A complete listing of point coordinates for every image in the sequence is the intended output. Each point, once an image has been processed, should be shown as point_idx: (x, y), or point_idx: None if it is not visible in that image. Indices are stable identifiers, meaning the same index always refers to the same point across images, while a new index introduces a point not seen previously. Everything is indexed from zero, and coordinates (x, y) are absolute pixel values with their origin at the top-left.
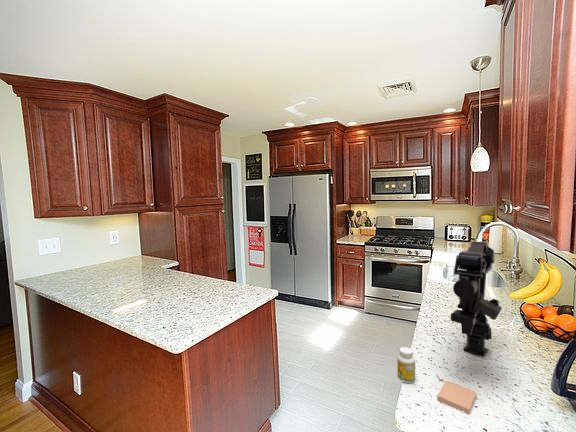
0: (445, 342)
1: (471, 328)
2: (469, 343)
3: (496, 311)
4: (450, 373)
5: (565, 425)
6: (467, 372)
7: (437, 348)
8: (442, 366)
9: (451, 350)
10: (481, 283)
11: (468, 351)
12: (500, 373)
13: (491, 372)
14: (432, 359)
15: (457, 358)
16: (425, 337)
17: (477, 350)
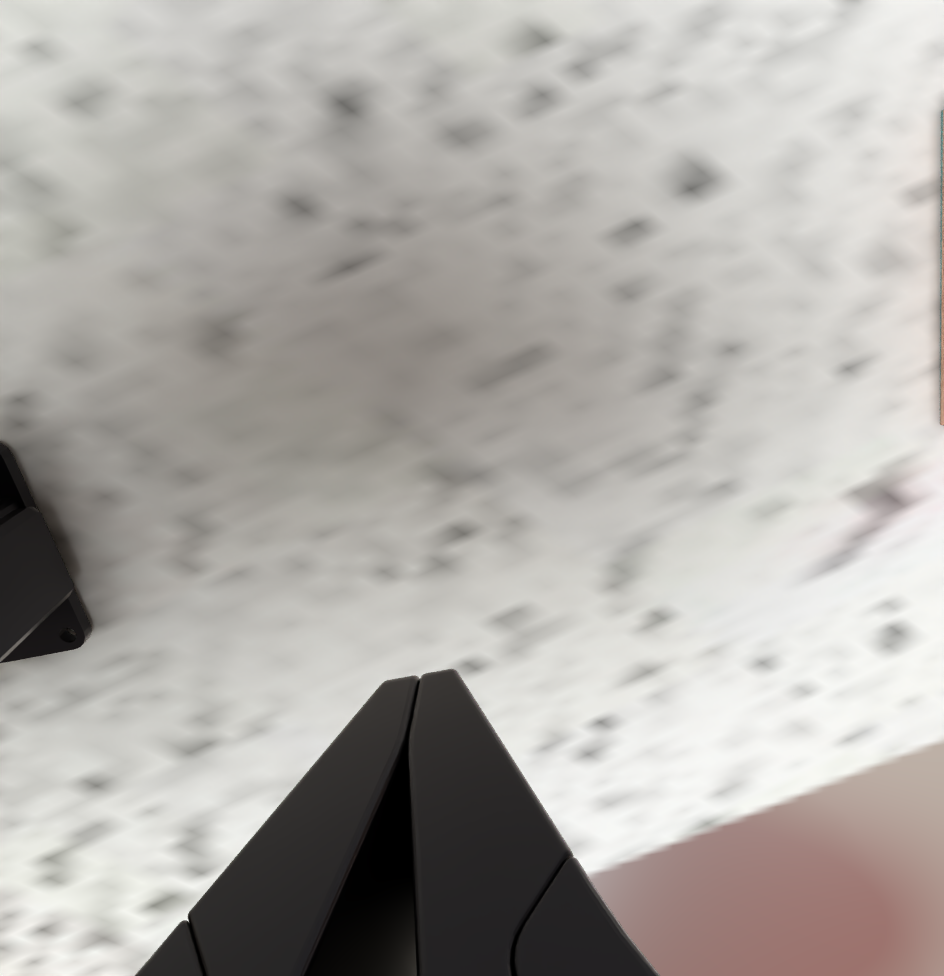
0: (122, 811)
1: (572, 855)
2: (12, 645)
3: None
4: (690, 498)
5: None
6: (516, 400)
7: None
8: (623, 606)
9: (222, 704)
10: None
11: (71, 592)
12: (180, 138)
13: (263, 223)
14: (577, 721)
15: (325, 594)
16: None
17: (6, 523)
